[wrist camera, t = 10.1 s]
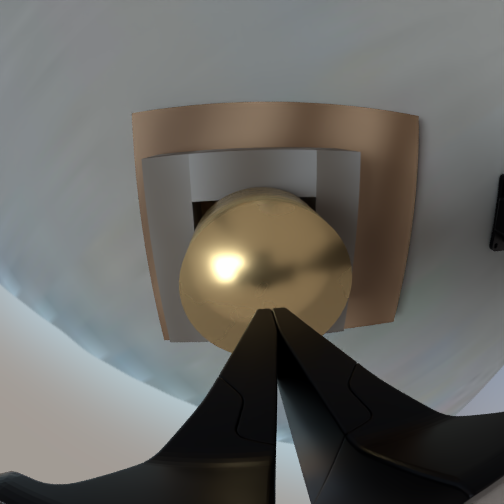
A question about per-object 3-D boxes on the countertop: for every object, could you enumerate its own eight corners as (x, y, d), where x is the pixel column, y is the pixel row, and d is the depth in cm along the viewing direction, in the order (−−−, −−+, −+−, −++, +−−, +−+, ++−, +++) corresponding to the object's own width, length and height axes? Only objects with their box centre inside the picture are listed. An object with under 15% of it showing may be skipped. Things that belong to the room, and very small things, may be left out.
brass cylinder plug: (311, 176, 15) (361, 204, 9) (305, 279, 17) (338, 350, 11) (196, 177, 15) (170, 205, 9) (202, 282, 17) (189, 358, 11)
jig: (409, 116, 15) (451, 115, 11) (387, 314, 20) (413, 348, 16) (137, 114, 14) (108, 108, 10) (166, 331, 19) (155, 373, 15)
